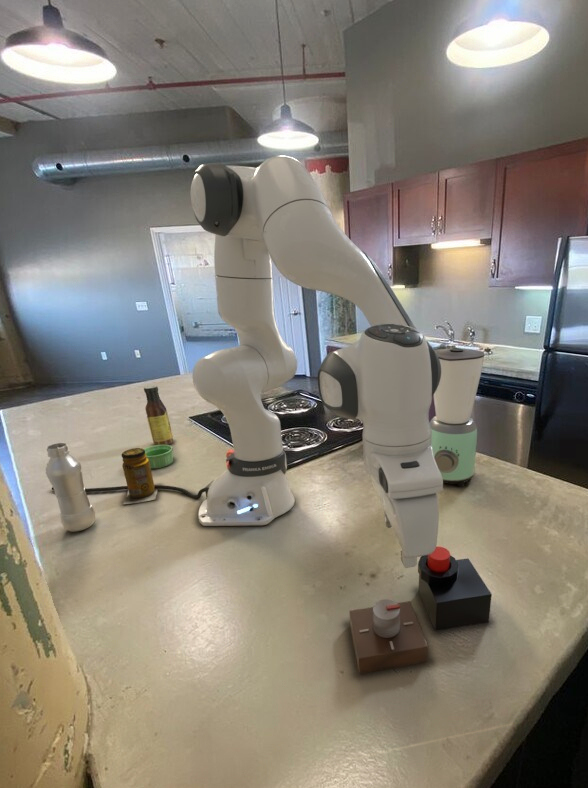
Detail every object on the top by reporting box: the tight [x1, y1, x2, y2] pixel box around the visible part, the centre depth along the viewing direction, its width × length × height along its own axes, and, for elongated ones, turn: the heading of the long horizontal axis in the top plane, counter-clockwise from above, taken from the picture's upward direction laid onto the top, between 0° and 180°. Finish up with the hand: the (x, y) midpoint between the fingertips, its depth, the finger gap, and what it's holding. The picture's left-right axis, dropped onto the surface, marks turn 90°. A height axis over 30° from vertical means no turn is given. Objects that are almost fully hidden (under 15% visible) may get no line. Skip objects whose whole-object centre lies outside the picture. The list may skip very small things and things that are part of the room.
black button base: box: [417, 554, 492, 632], centre depth 69 cm, size 10×10×8 cm
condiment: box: [121, 447, 159, 505], centre depth 106 cm, size 7×8×12 cm
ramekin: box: [143, 444, 174, 470], centre depth 126 cm, size 9×9×4 cm
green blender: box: [429, 347, 486, 487], centre depth 110 cm, size 19×13×35 cm
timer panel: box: [348, 600, 429, 675], centre depth 63 cm, size 10×9×3 cm
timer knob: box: [372, 598, 400, 638], centre depth 62 cm, size 4×4×4 cm
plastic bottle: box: [45, 442, 97, 532], centre depth 91 cm, size 6×7×20 cm
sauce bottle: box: [143, 385, 174, 446], centre depth 138 cm, size 6×6×20 cm
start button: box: [427, 546, 451, 573], centre depth 69 cm, size 4×4×2 cm
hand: (399, 543), depth 59 cm, fingers open, 8 cm apart
